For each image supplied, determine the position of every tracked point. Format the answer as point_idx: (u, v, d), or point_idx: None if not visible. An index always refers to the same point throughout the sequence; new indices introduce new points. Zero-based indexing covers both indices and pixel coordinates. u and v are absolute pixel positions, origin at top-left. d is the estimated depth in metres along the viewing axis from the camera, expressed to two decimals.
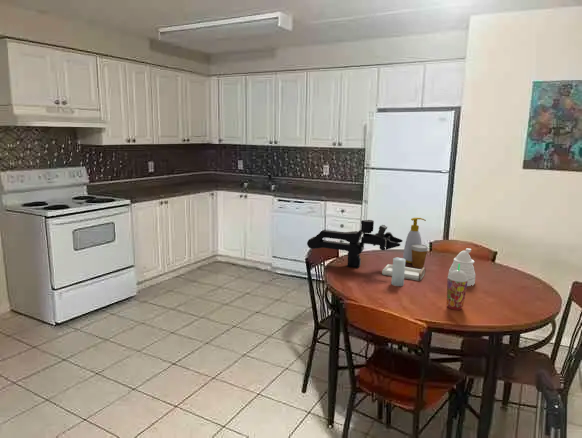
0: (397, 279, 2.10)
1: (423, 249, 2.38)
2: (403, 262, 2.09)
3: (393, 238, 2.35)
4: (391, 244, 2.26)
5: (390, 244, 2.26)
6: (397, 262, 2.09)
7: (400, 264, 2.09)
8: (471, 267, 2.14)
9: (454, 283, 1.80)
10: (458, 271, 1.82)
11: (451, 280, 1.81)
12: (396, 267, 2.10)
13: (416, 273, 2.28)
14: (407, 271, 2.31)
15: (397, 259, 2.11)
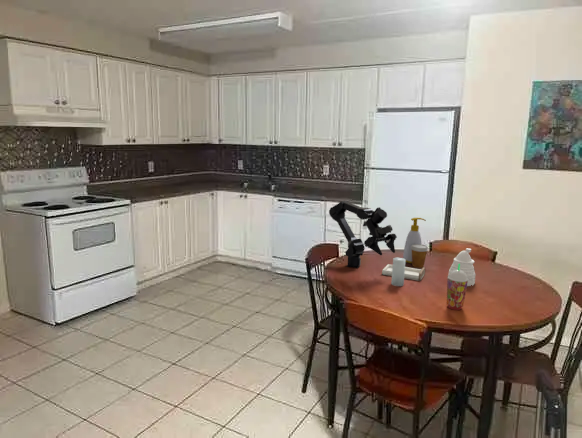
0: (397, 279, 2.10)
1: (423, 249, 2.38)
2: (403, 262, 2.09)
3: (391, 243, 2.22)
4: (375, 248, 2.17)
5: (375, 247, 2.17)
6: (397, 262, 2.09)
7: (400, 264, 2.09)
8: (471, 267, 2.14)
9: (454, 283, 1.80)
10: (458, 271, 1.82)
11: (451, 280, 1.81)
12: (396, 267, 2.10)
13: (416, 273, 2.28)
14: (407, 271, 2.31)
15: (397, 259, 2.11)
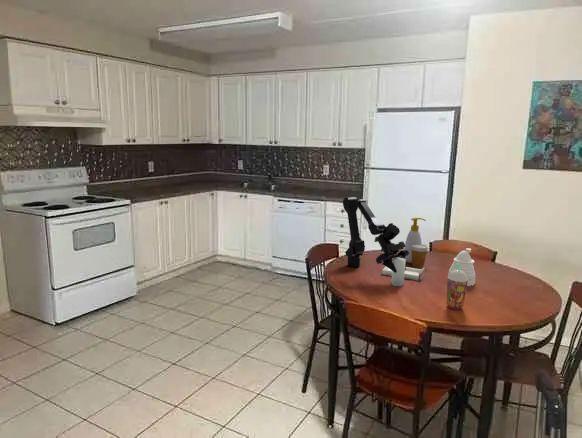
0: (397, 279, 2.10)
1: (423, 249, 2.38)
2: (403, 262, 2.09)
3: None
4: (390, 265, 2.11)
5: (389, 264, 2.11)
6: (397, 262, 2.09)
7: (400, 264, 2.09)
8: (471, 267, 2.14)
9: (454, 283, 1.80)
10: (458, 271, 1.82)
11: (451, 280, 1.81)
12: (396, 267, 2.10)
13: (416, 273, 2.28)
14: (407, 271, 2.31)
15: (397, 259, 2.11)
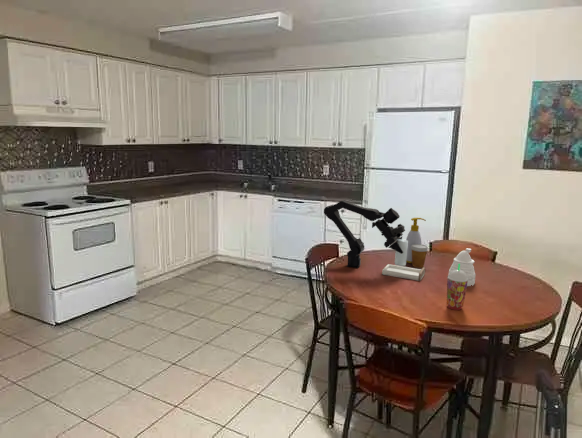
0: (403, 259, 2.25)
1: (423, 249, 2.38)
2: (407, 243, 2.25)
3: None
4: (396, 247, 2.24)
5: (395, 246, 2.24)
6: (403, 243, 2.23)
7: (406, 245, 2.24)
8: (471, 267, 2.14)
9: (454, 283, 1.80)
10: (458, 271, 1.82)
11: (451, 280, 1.81)
12: (402, 249, 2.24)
13: (416, 273, 2.28)
14: (407, 271, 2.31)
15: (401, 241, 2.25)
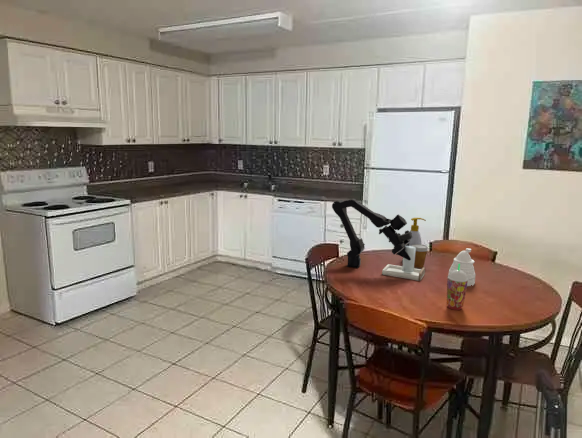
0: (411, 266, 2.24)
1: (423, 249, 2.38)
2: (415, 249, 2.24)
3: None
4: (404, 253, 2.23)
5: (403, 253, 2.23)
6: (411, 250, 2.22)
7: (413, 251, 2.23)
8: (471, 267, 2.14)
9: (454, 283, 1.80)
10: (458, 271, 1.82)
11: (451, 280, 1.81)
12: (410, 255, 2.23)
13: (416, 273, 2.28)
14: None
15: (408, 247, 2.24)
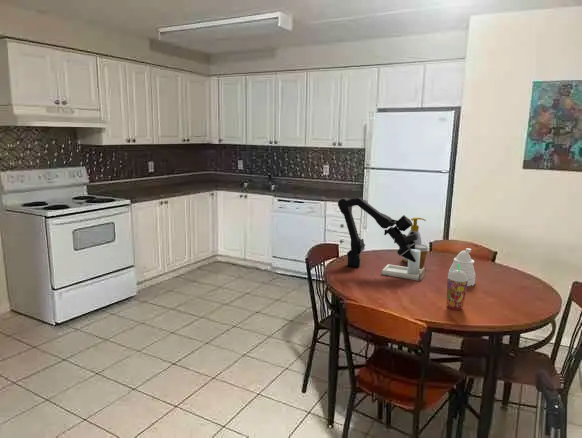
0: (416, 269, 2.23)
1: (423, 249, 2.38)
2: (420, 252, 2.23)
3: None
4: (409, 255, 2.20)
5: (408, 254, 2.20)
6: (416, 253, 2.21)
7: (418, 255, 2.22)
8: (471, 267, 2.14)
9: (454, 283, 1.80)
10: (458, 271, 1.82)
11: (451, 280, 1.81)
12: (415, 259, 2.22)
13: None
14: None
15: (413, 251, 2.23)
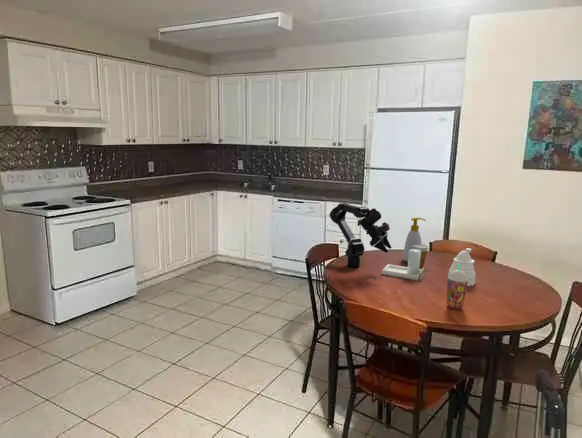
0: (416, 269, 2.23)
1: (423, 249, 2.38)
2: (420, 253, 2.23)
3: (385, 240, 2.30)
4: (381, 246, 2.21)
5: (380, 245, 2.21)
6: (416, 253, 2.21)
7: (418, 255, 2.22)
8: (471, 267, 2.14)
9: (454, 283, 1.80)
10: (458, 271, 1.82)
11: (451, 280, 1.81)
12: (415, 259, 2.22)
13: None
14: None
15: (414, 251, 2.23)
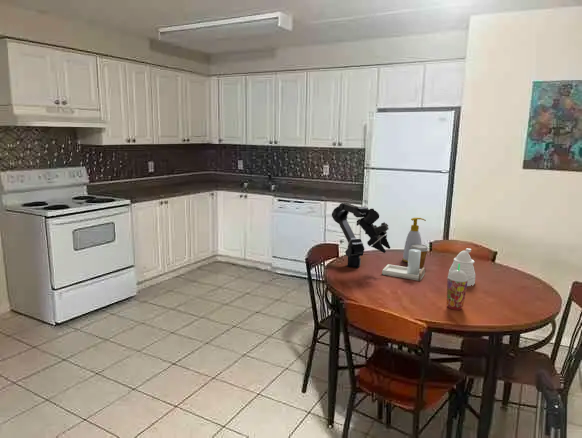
0: (416, 269, 2.23)
1: (423, 249, 2.38)
2: (420, 253, 2.23)
3: (384, 240, 2.29)
4: (379, 246, 2.20)
5: (378, 245, 2.20)
6: (416, 253, 2.21)
7: (418, 255, 2.22)
8: (471, 267, 2.14)
9: (454, 283, 1.80)
10: (458, 271, 1.82)
11: (451, 280, 1.81)
12: (415, 259, 2.22)
13: None
14: None
15: (414, 251, 2.23)
